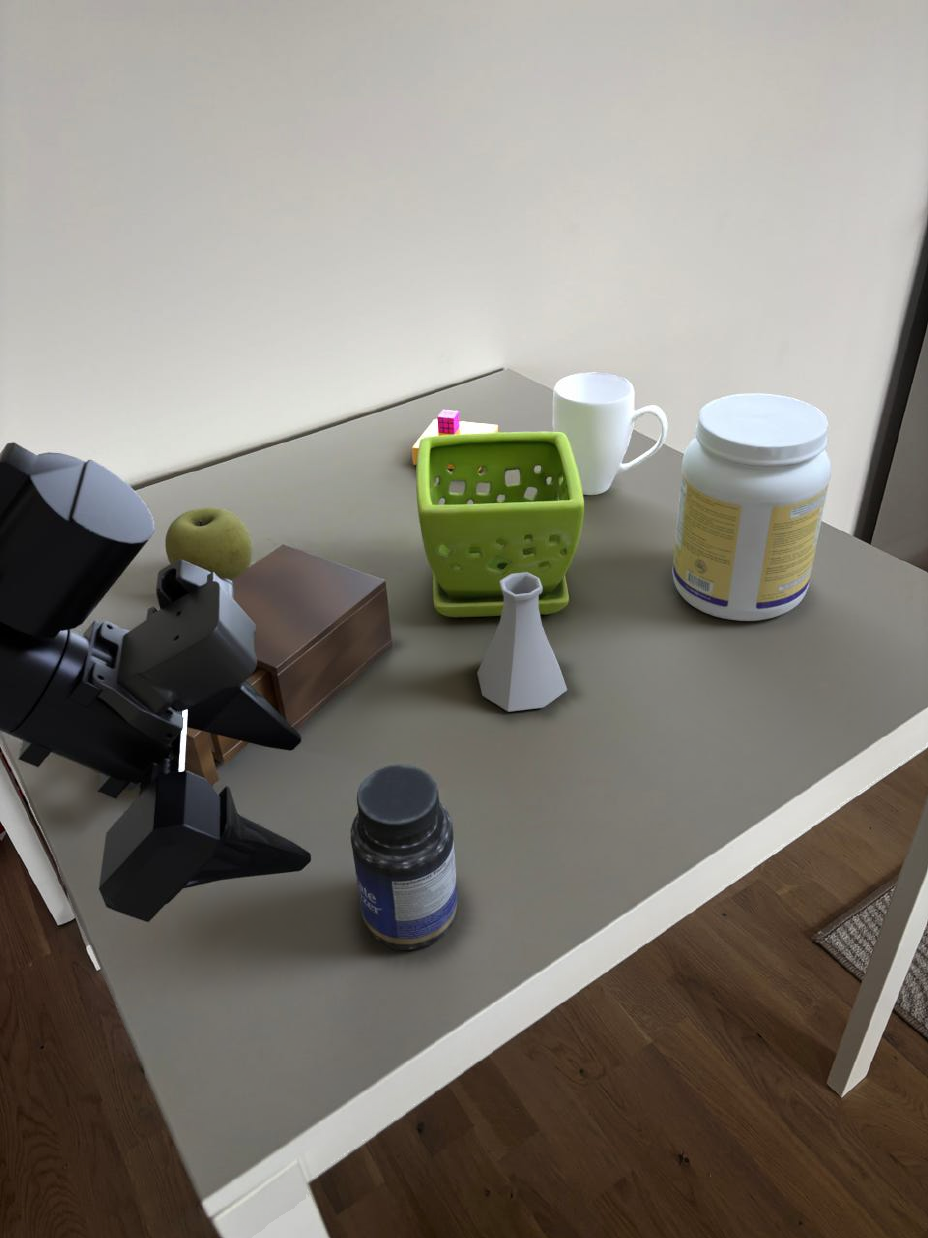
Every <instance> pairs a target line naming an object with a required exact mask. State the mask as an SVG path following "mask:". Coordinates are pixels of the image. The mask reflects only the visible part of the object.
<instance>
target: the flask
mask: <svg viewBox="0 0 928 1238" xmlns="http://www.w3.org/2000/svg"><path fill="white" fill-rule="evenodd" d="M500 586H501V590H502V593H503V595H504V604H503V609H502V614H501V616H500V620H499V622H498V625H497V627H496V630H495V632H494V635H493V636H492V639H491V642H490V644H489V647H488V648H487V651H486V652H485V655H484V658H483V659H482V661H481V664H480V665H479V668H478V670H477V673H476V675H477V678H478V683H479V687H480V692H481V695H482V697H484V698H485V699H487V700H489V702H492V703H494V704H495V705H497V706H498V707H499V708H501V709H503V710H504V711H506V712H516V711H517V712H518V711H525V710H533V709H542V708H545V707H547V706H548V705H550V704H551V703H552V702H553V701H555V700H556V699H557V698H559V697H560V696H562V695H563V694H564V693H565V692H567V691H568V688H567V684H566V682H565V679H564V676H563V673H562V670H561V667H560V665H559V663H558V660H557V658H556V656H555V652H554V651H553V649H552V646H551V644H550V641H549V639H548V637H547V634H546V631H545V628H544V627H543V623H542V618H541V614H540V613H539V594H541V593H542V590H543V587H542V585H541V582H540V579H539V578H538V577H536V576H534V575H532V574H530V573H528V572H524V573H515V574H510V575H508V576H507V577H505V578H503V579H502V580H500Z"/></svg>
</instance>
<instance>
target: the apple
mask: <svg viewBox="0 0 928 1238" xmlns="http://www.w3.org/2000/svg"><path fill="white" fill-rule="evenodd" d="M164 548H165V552H166V557H167V559H168V562H169V565H170V564H171V563H173V562H175V561H177V560H178V559H182V560H184V561H186V562H189V563H191V564H193V565H195V566H198V567H200V568H202V569H205V570H207V571H209V572H211V573H212V572H214V573H215V574H216V575H217V576H218V577H219V578H220V579H222V578H227V579H229V580H232V579H233V578H235V577H236V576H238V575H239V574H240V573H242V572H243V571H245V570H246V569H248V568H249V567H251V562H252V558H253V543H252V538H251V536H250V533H249V531H248V529H247V527H246V526H245V524H244V523H243V522H242V520H241V519H240V518H239V517H238V516H236V515H235V514H234V513H233V512H231V511H229V510H227V509H224V508H221V507H211V506H210V507H209V506H208V507H199V508H194V509H190V510H188V511H186V512H183V513H181V514H180V515H179V516H177V517H176V518H175V519H174V520H173V521H172V522H171V523H170V525H169V527H168V529H167V531H166V534H165V546H164Z"/></svg>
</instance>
